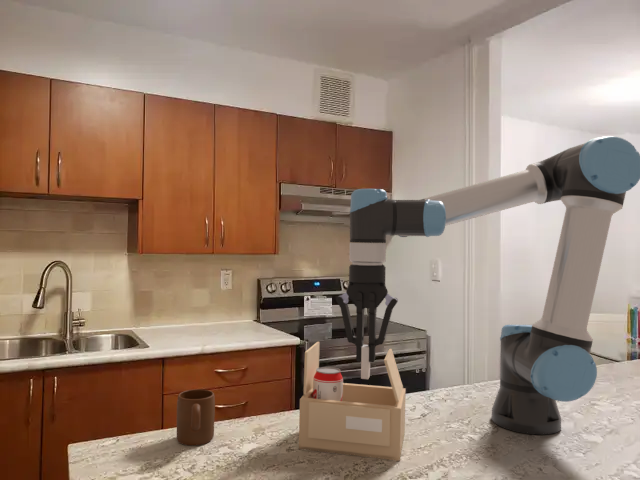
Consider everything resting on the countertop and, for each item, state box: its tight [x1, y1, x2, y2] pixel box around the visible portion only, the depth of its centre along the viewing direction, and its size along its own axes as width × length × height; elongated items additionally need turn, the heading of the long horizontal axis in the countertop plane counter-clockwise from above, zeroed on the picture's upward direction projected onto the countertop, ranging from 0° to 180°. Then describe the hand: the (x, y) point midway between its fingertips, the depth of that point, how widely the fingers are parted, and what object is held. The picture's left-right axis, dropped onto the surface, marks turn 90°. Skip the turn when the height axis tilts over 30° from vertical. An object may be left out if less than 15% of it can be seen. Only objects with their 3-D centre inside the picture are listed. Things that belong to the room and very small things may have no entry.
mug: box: [176, 388, 216, 447], centre depth 105 cm, size 12×8×9 cm, turn 13°
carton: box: [298, 382, 407, 462], centre depth 107 cm, size 20×15×10 cm
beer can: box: [313, 366, 344, 401], centre depth 107 cm, size 6×6×16 cm
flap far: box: [303, 341, 321, 395], centre depth 109 cm, size 8×11×1 cm
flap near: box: [383, 348, 404, 403], centre depth 106 cm, size 8×11×1 cm
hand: (365, 377), depth 107 cm, fingers closed
